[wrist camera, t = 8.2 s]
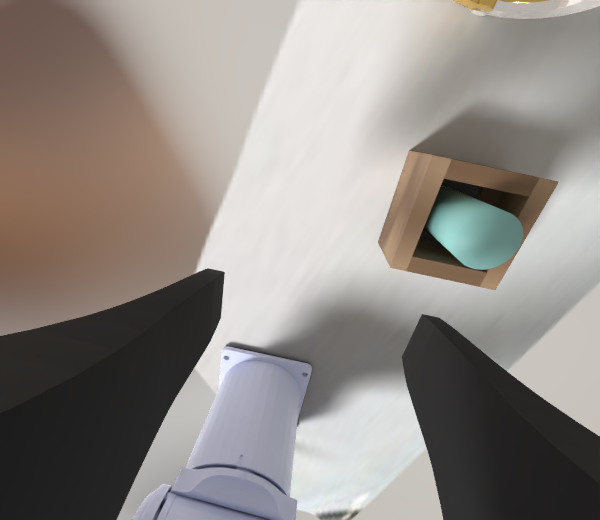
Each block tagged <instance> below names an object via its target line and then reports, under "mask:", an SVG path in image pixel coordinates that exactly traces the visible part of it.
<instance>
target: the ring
mask: <svg viewBox="0 0 600 520" xmlns="http://www.w3.org/2000/svg"><path fill="white" fill-rule="evenodd" d="M453 1H455V2H457V3H458V4H460V5H463V6H465V7H467V8H469V9H470V12H471V13H473V14H475V15H478V16H486V14H487V15H492V16H497V17H504V18H514V19H538V18H549V17H557V16H563V15H568V14H573V13H578V12H582V11H585V10H589V9H592V8H595V7H598V6H600V0H453Z"/></svg>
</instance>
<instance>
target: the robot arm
mask: <svg viewBox="0 0 600 520" xmlns="http://www.w3.org/2000/svg"><path fill="white" fill-rule="evenodd" d="M224 273H225V272H222V271H217V270H213V269H205V270H203V271H200V272H198V273H196V274H193V275H191V276H189V277H187V278H185V279H183V280H180V281H178V282H176V283H174V284H172V285H169V286H167V287H165V288H163V289H160V290H158V291H155V292H153V293H150V294H148V295H146V296H143V297H140V298H138V299H135V300H133V301H130V302H127V303H125V304H122V305H119V306H116V307H113V308H110V309H107V310H104V311H100V312H97V313H94V314H91V315H88V316H84V317H80V318H76V319H73V320H68V321H64V322H60V323H57V324H52V325H48V326H44V327H40V328H37V329H32V330H27V331H23V332H18V333H13V334H8V335H4V336H0V520H116V519H117V517H118V515H119V513H120V511H121V509H122V506H123V504H124V502H125V499H126V497H127V495H128V493H129V491H130V489H131V486H132V484H133V482H134V480H135V478H136V476H137V474H138V472H139V470H140V467H141V465H142V463H143V461H144V459H145V457H146V455H147V453H148V451H149V448H150V446H151V444H152V442H153V440H154V438H155V436H156V434H157V432H158V430H159V428H160V426H161V424H162V422H163V420H164V418H165V416H166V414H167V412H168V410H169V408H170V407H171V405H172V403H173V401H174V400H175V398H176V396H177V395H178V393H179V391H180V390H181V388H182V387H183V385H184V383H185V382H186V380H187V378H188V377H189V375H190V374H191V372H192V370H193V369H194V367H195V366H196V364H197V362H198V361H199V359H200V357H201V356H202V354H203V353H204V351H205V349H206V348H207V346H208V344H209V343H210V341H211V339H212V336H213V334H214V332H215V330H216V328H217V325H218V323H219V321H220V318H221V308H222V296H223V284H224ZM227 356H228V357H227ZM402 359H403V366H404V372H405V378H406V383H407V387H408V390H409V393H410V397H411V400H412V403H413V406H414V409H415V413H416V416H417V419H418V422H419V425H420V428H421V431H422V434H423V438H424V441H425V444H426V447H427V450H428V453H429V457H430V460H431V464H432V468H433V472H434V477H435V481H436V486H437V491H438V495H439V499H440V504H441V509H442V514H443V520H600V436H598V435H596V434H595V433H593V432H592V431H590V430H589V429H587V428H586V427H584V426H582V425H581V424H579V423H578V422H576V421H575V420H573V419H572V418H570V417H569V416H567V415H566V414H565V413H563V412H562V411H560V410H559V409H557V408H556V407H554V406H553V405H551V404H550V403H548V402H547V401H546V400H544V399H543V398H541V397H540V396H539V395H537V394H536V393H534V392H533V391H532V390H530V389H529V388H528V387H526V386H525V385H524V384H523V383H521V382H520V381H518V380H517V379H516V378H515V377H513V376H512V375H511V374H509V373H508V372H507V371H506V370H504V369H503V368H502V367H501V366H499V365H498V364H497V363H495V362H494V361H493V360H492V359H491V358H489V357H488V356H487V355H486V354H484V353H483V352H482V351H481V350H480V349H478V348H477V347H476V346H475V345H473V344H472V343H471V342H470V341H469V340H467V339H466V338H465V337H464V336H463V335H461V334H460V333H459V332H458V331H456V330H455V329H454V328H453V327H451V326H450V325H449V324H447V323H446V322H444V321H443V320H441V319H440V318H437V317H432V316H428V315H423V314H422V316H421V318H420V320H419V322H418V324H417V326H416V329H415V331H414V333H413V335H412V337H411V339H410V341H409V343H408V345H407V348H406V350H405V352H404V354H403V356H402ZM311 372H312V366H311V365H310V364H308V363H303V362H299V361H294V360H289V359H285V358H280V357H275V356H271V355H266V354H261V353H257V352H252V351H247V350H243V349H238V348H233V347H228V346H226V347H224V348H223V350H222V352H221V362H220V373H219V384H218V392H217V395H216V397H215V399H214V402H213V404H212V406H211V409H210V411H209V414H208V416H207V418H206V421H205V423H204V425H203V428H202V430H201V432H200V435H199V437H198V439H197V442H196V444H195V447H194V449H193V451H192V454H191V456H190V458H189V461H188V463H187V465H186V468H185V467H182V468H181V469H180V472H179V474H178V476H177V479H176V481H175V483H174V485H173V488H172V486H171V485H167V484H162V485H160V486H159V487H158V489H156V490H154V491H153V492H151V493H150V494H149V495H147V497H146V498H145V499H144V501H143V502H142V504H141V505H140V507H139V508H138V510H137V512H136V514H135V515H134V517H133V519H132V520H296V508H297V500H296V499H293V498H290V487H291V478H292V468H293V458H294V448H295V438H296V429H297V420H298V417H299V413H300V410H301V406H302V403H303V400H304V396H305V393H306V389H307V386H308V383H309V379H310V376H311Z"/></svg>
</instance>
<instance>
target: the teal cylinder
mask: <svg viewBox="0 0 600 520" xmlns="http://www.w3.org/2000/svg"><path fill="white" fill-rule="evenodd" d="M424 228H425V229H426V230H427V231H428V232H429V233H430V234H431V235H433V236H434V237H435V238H436V239H437V240H438V241H439V242H440V243H441V244H442V245H443V246H444V247H445V248H446V249H447V250H449V251H450V252H451V253H452V254H453V255H454V256H455V257H456V258H457V259H458V260H459V261H460V262H461V263H463V264H464V265H465V266H467V267H469V268H473V269H480V270H483V269H490V268H494V267H497V266H499V265H501V264H503V263H505V262H506V261H507V260H509V259H510V258H511V257H512V256H513V255H514V254H515V253H516V252H517V250H518V249H519V247H520V245H521V242H522V239H523V228H522V225H521V223H520V221H519V220H518V218H517V217H515V216H514V215H513V214H511V213H509V212H506V211H504V210H501V209H499V208H497V207H494V206H492V205H490V204H487V203H485V202H482V201H480V200H478V199H475V198H473V197H470V196H468V195H466V194H463V193H461V192H459V191H456V190H454V189H451V188H449V187H440V189H439V191H438V194H437V196H436V199H435V201H434V204H433V206H432V209H431V211H430V214H429V216H428V218H427V221H426V223H425V226H424Z"/></svg>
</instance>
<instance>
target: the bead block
mask: <svg viewBox="0 0 600 520" xmlns="http://www.w3.org/2000/svg"><path fill="white" fill-rule="evenodd" d="M443 179H448V180H453V181H458V182H462V183H467V184H472V185H476V186H481V187H484V188H483V190H482V192H481V194H480V196H479V198H478V200H480V201H482V202H485V203H487V204H490V205H492V206H494V207H497V208H499V209H501V210H504V211H506V212H509V213H511V214H513V215H514V216H515V217H517V218H518V220H519V221H520V223H521V225H522V228H523V239H522V242H521V245H520V247H521V246H522V244H523V242H524V240H525V239H526V237H527V235H528V234H529V232H530V230H531V228H532V227H533V225H534V223H535V222H536V220H537V218H538V217H539V215H540V213H541V211H542V210H543V208H544V206H545V205H546V203H547V201H548V199H549V198H550V196H551V194H552V193H553V191H554V189H555V188H556V186H557V184H558V182H557V181H552V180H548V179H543V178H538V177H534V176H529V175H524V174H520V173H515V172H510V171H506V170H501V169H496V168H492V167H487V166H482V165H478V164H473V163H468V162H464V161H459V160H454V159H450V158H445V157H440V156H436V155H431V154H425V153H420V152H414V151H409V153H408V156H407V159H406V162H405V165H404V167H403V170H402V173H401V176H400V179H399V182H398V185H397V188H396V191H395V194H394V197H393V200H392V203H391V206H390V209H389V212H388V214H387V217H386V220H385V223H384V226H383V229H382V232H381V235H380V238H379V241H378V243H379V245H380V247H381V249H382V251H383V253H384V256H385V258H386V260H387V262H388V264H389V266H390V268H395V269H399V270H404V271H409V272H413V273H418V274H423V275H427V276H432V277H437V278H441V279H446V280H451V281H455V282H460V283H465V284H469V285H474V286H479V287H483V288H488V289H493V290H496V288H497V286H498V285H499V283H500V281H501V280H502V278H503V276H504V274H505V273H506V271H507V269H508V268H509V266H510V264H511V263H512V261H513V259H514V257H515V256H516V254H517V252H518V251H519V249H520V247H519V249H518V250H517V252H516V253H515V254H514V255H513V256H512V257H511V258H510V259H509V260H507V261H506V262H505V263H503V264H501V265H499V266H497V267H494V268H490V269H483V270H480V269H473V268H469V267H467V266H465V265H464V264H463V263H461V262H460V261H459V260H458V259H457V258H456V257H455V256H454V255H453V254H452V253H451V252H450V251H449V250H447V249H446V248H445V247H444V246H443V245H442V244H441V243H440V242H436V241H431V240H426V239H422V238H420V236H421V233H422V231H423V228H424V226H425V223H426V221H427V218H428V216H429V214H430V211H431V209H432V206H433V204H434V201H435V199H436V196H437V194H438V191H439V189H440V187H441V184H442V182H443Z"/></svg>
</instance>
